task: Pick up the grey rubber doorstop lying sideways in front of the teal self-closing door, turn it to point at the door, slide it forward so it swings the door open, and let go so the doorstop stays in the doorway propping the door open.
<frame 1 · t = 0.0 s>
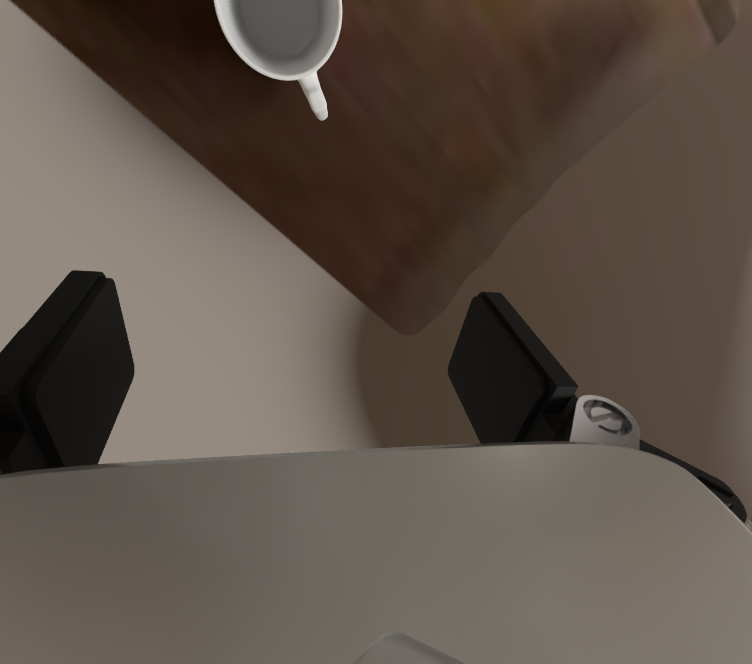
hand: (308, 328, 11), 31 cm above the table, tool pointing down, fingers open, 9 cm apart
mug: (289, 36, 32), on the table
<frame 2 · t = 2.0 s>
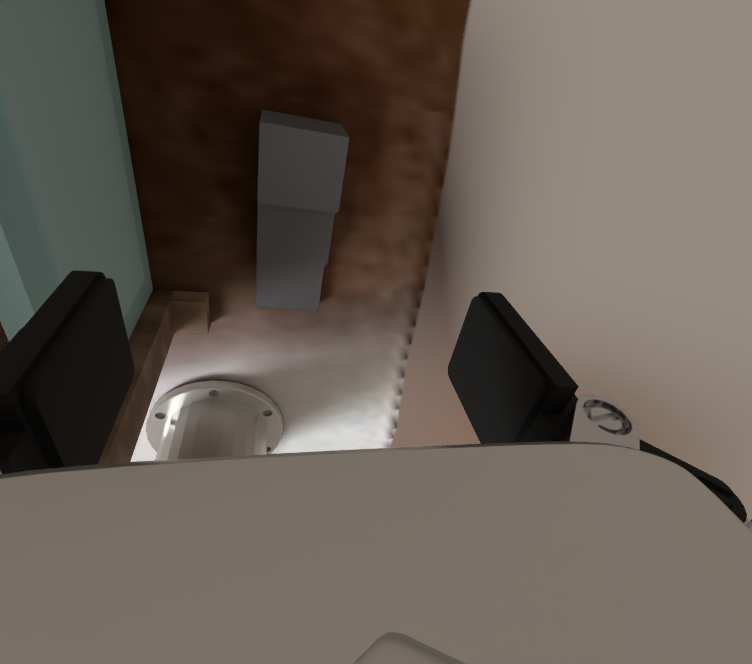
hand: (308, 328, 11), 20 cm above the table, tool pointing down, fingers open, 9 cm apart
door: (75, 188, 19), point 8 cm above the table, hinge at 0.0°
door frame: (128, 151, 25), on the table
doorstop: (293, 219, 30), on the table
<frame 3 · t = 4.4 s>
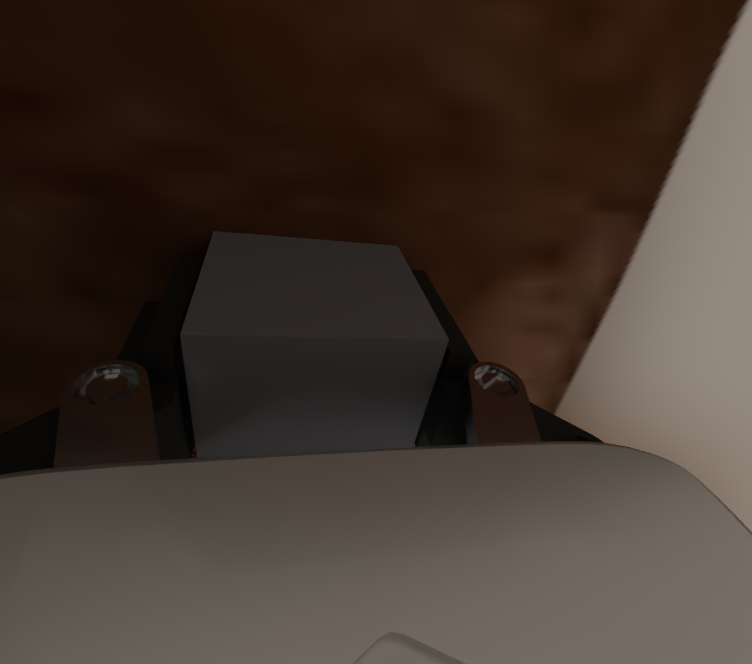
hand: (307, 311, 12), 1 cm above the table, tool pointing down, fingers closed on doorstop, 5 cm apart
doorstop: (297, 414, 15), on the table, touching gripper
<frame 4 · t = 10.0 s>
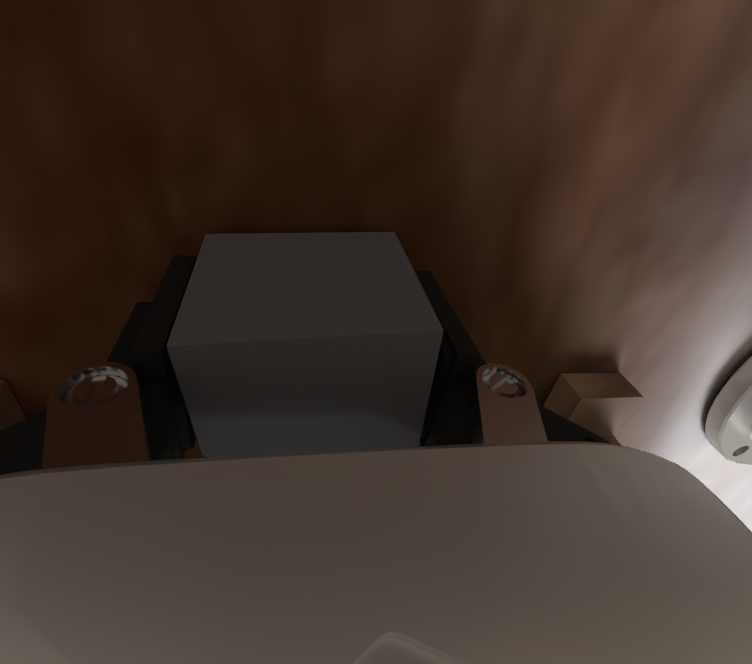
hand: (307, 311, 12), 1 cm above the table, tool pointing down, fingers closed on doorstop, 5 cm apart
door frame: (319, 445, 17), on the table
doorstop: (311, 407, 15), on the table, touching door, gripper
when the fingers open (1 cm above the table, at t = 11.6 s): doorstop moves 2 cm, on the table.
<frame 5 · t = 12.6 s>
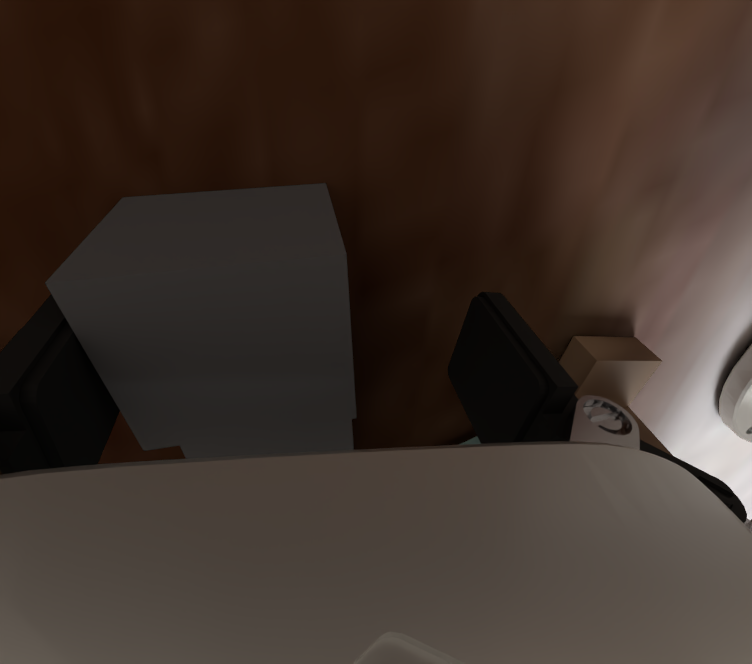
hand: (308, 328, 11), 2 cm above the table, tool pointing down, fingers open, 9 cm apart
door frame: (309, 412, 16), on the table
doorstop: (273, 380, 15), on the table
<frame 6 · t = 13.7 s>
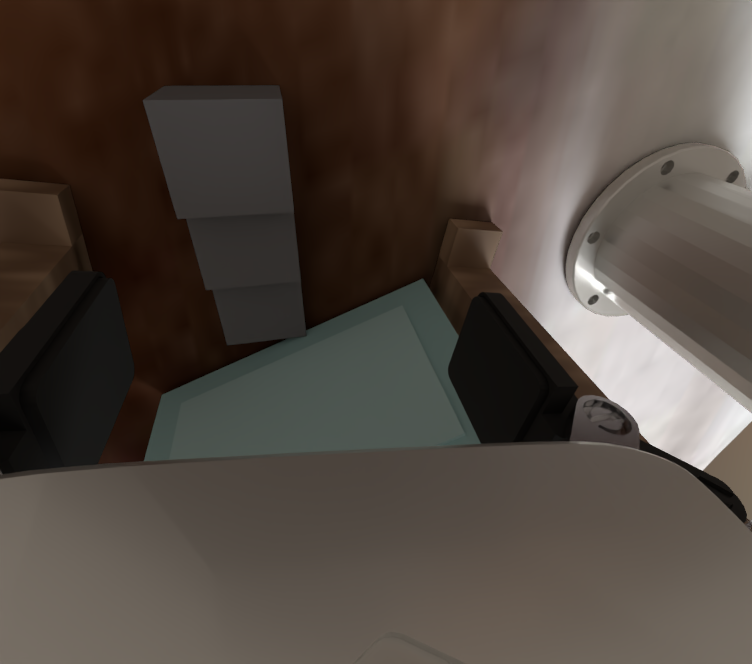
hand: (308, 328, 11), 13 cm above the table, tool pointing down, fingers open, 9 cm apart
door: (300, 422, 22), point 7 cm above the table, hinge at 30.4°
door frame: (280, 268, 24), on the table
doorstop: (249, 228, 23), on the table
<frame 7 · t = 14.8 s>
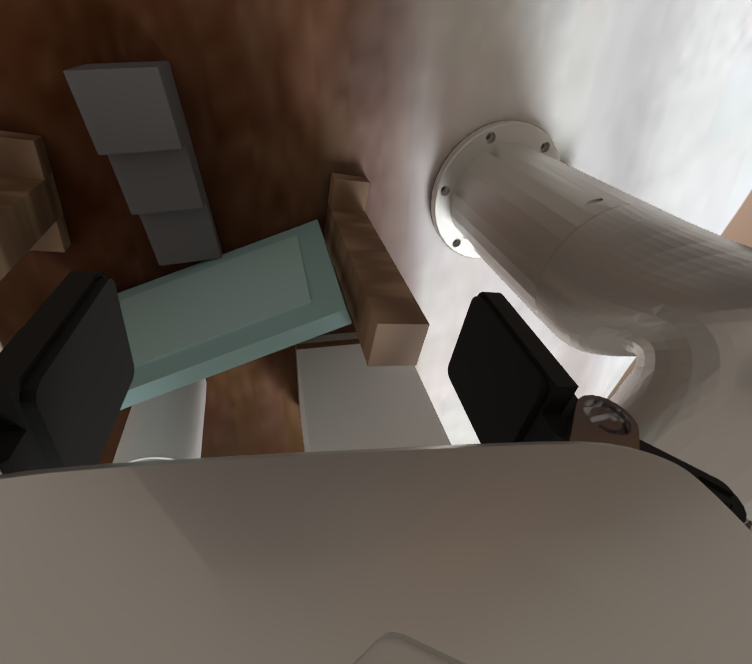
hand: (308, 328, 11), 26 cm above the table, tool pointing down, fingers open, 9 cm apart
door: (209, 307, 30), point 7 cm above the table, hinge at 26.6°
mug: (170, 391, 44), on the table
door frame: (204, 207, 33), on the table
white block: (345, 367, 48), on the table
doorstop: (165, 171, 31), on the table
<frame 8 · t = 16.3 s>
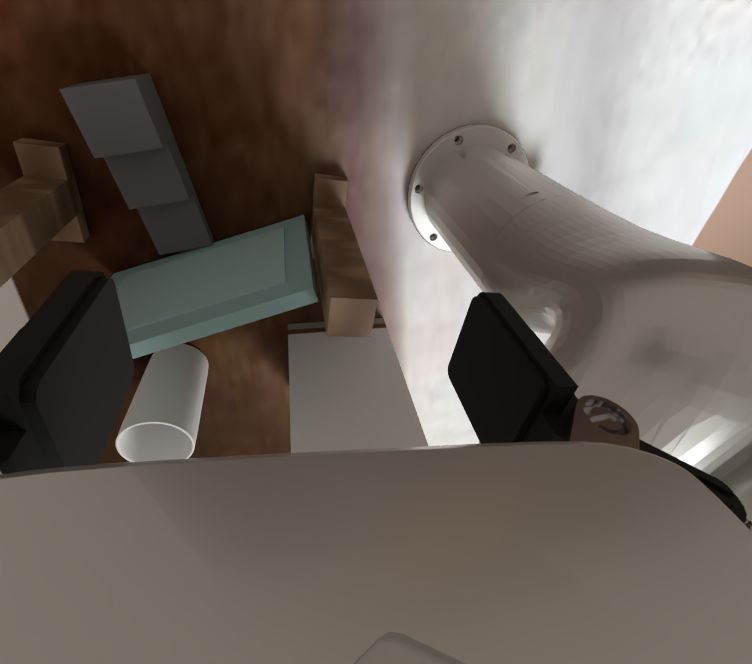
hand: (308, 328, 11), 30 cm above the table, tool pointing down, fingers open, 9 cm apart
door: (200, 284, 34), point 7 cm above the table, hinge at 23.3°
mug: (177, 371, 48), on the table
door frame: (203, 204, 37), on the table
white block: (336, 353, 51), on the table
doorstop: (157, 170, 35), on the table
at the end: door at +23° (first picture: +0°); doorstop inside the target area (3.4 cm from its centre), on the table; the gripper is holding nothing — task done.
